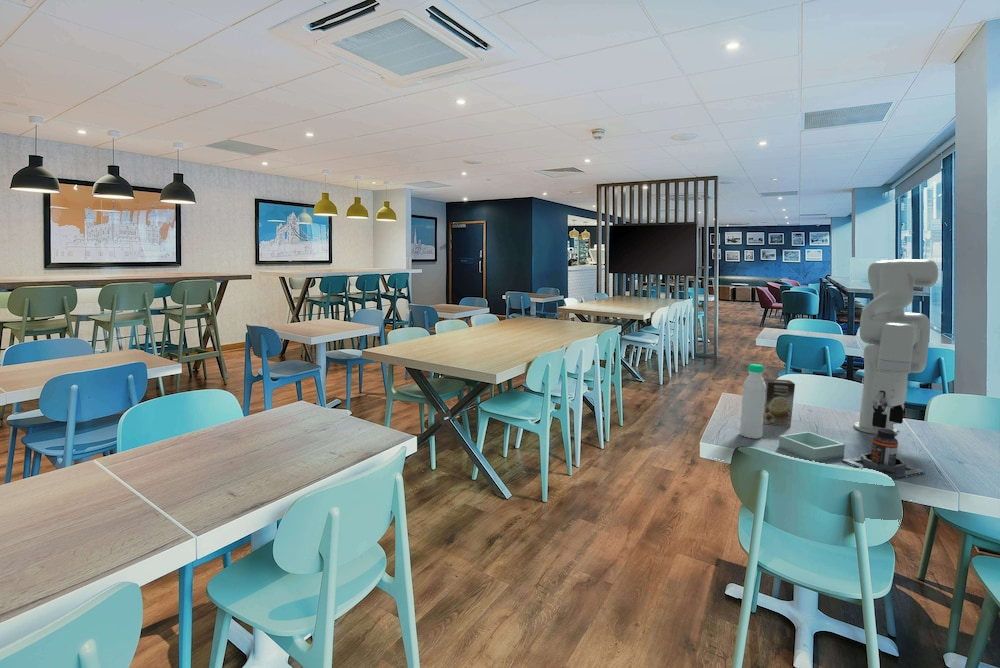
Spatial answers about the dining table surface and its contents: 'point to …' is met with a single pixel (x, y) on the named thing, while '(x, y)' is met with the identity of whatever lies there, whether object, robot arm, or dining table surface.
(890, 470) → the square bottle holder
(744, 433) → the water bottle
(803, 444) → the bin
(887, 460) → the supplement bottle
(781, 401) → the coffee box
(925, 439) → the dining table surface
